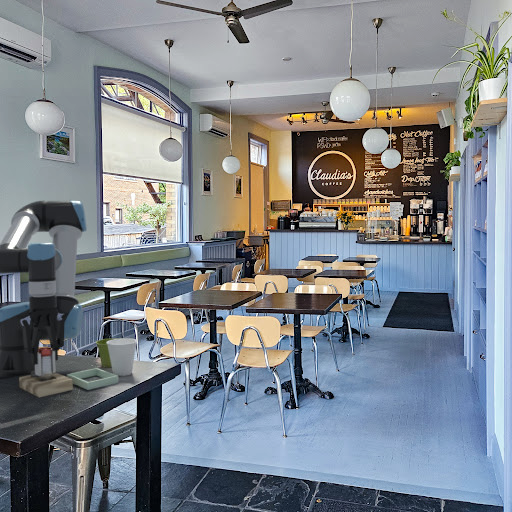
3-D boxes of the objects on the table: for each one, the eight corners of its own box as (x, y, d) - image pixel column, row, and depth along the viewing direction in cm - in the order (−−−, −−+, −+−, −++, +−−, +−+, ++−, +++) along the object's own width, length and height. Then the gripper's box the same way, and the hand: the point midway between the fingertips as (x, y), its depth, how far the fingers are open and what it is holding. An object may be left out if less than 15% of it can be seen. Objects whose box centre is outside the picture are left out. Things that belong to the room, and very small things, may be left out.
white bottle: (37, 388, 162) (36, 348, 161) (49, 385, 164) (47, 346, 164) (42, 390, 159) (41, 350, 159) (54, 388, 162) (53, 348, 161)
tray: (67, 384, 169) (66, 374, 169) (97, 377, 177) (96, 368, 176) (87, 393, 160) (87, 382, 160) (118, 385, 167) (118, 375, 167)
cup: (130, 378, 174) (129, 345, 174) (101, 377, 176) (100, 344, 176) (142, 370, 184) (142, 338, 184) (115, 369, 186) (114, 337, 185)
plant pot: (115, 369, 186) (114, 344, 185) (91, 368, 188) (90, 343, 188) (129, 363, 195) (128, 339, 194) (105, 361, 197) (105, 337, 197)
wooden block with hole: (19, 390, 163) (18, 371, 163) (51, 383, 170) (51, 365, 170) (39, 400, 153) (38, 380, 153) (72, 392, 161) (72, 373, 160)
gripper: (19, 299, 152) (22, 381, 153) (75, 293, 163) (77, 370, 165) (8, 296, 157) (11, 376, 158) (64, 291, 169) (66, 365, 170)
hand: (45, 373), depth 162 cm, fingers closed on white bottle, 4 cm apart
